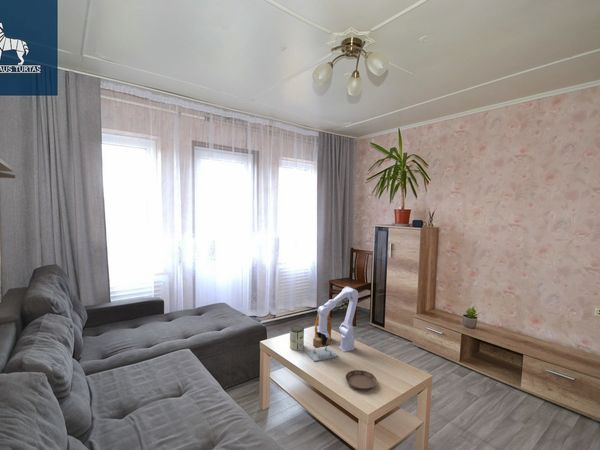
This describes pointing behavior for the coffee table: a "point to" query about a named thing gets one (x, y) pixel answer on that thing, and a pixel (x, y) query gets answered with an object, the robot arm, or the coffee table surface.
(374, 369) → the coffee table surface
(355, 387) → the plant saucer
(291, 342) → the coffee can
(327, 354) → the peg board
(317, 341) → the walnut bar
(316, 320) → the coffee package
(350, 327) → the robot arm
